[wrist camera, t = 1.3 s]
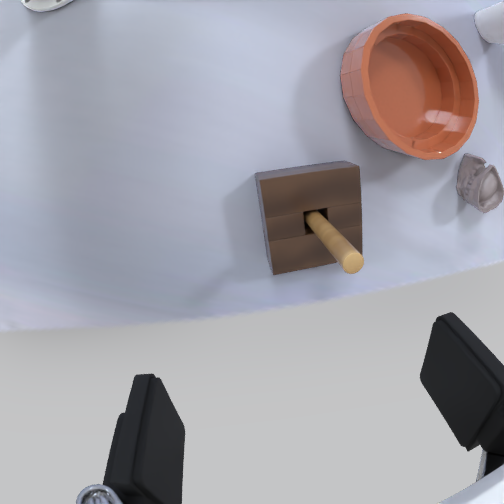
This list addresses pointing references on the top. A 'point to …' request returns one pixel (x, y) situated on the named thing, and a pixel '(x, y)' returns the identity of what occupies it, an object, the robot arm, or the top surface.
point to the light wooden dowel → (334, 242)
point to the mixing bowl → (410, 87)
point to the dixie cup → (491, 23)
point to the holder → (305, 199)
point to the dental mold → (479, 183)
